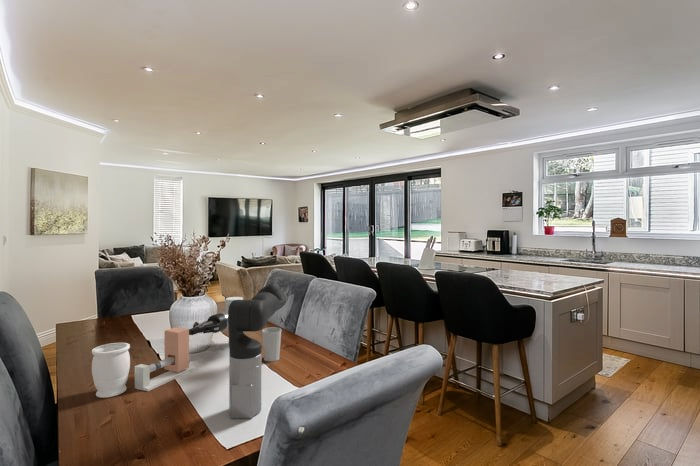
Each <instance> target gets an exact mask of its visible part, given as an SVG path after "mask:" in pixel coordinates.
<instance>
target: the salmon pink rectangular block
mask: <svg viewBox="0 0 700 466" xmlns="http://www.w3.org/2000/svg"><path fill="white" fill-rule="evenodd" d="M189 329H190V328H185V327H177V326H174V327H172V328H171V327H170V328H168V329H166V330H164V359H166V358H169V357H171V356H175V362H174V363H172V364H169V365H167V366H164V370H165V371H166V370H167V371H175V372H180V371H182V370H184V369H187V368H189V365H190V335H189Z"/></svg>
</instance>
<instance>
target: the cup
mask: <svg viewBox="0 0 700 466" xmlns="http://www.w3.org/2000/svg"><path fill="white" fill-rule="evenodd" d="M261 333H262V334H261V336H262V337H261V338H262V346H263V348H262V349H263V360H264V361H265V362H277V361H279V360H280V352H281V341H282V338H281V337H282V328H280V327H275V326H273V327H270V326H269V327H266V328H263V329H261Z"/></svg>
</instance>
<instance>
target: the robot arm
mask: <svg viewBox="0 0 700 466" xmlns="http://www.w3.org/2000/svg"><path fill="white" fill-rule="evenodd" d="M287 300H288V299H287V297H286V294H285V293H284V291H283V290H282V288H281V286H280V285H279V284H278V282H275V281H273V282H270V283H269V284H266V285H265V286H263V287H262V288H261V289H259V291H257V293H256V294H255V295H254V296H252V298H251V299H243V300H234V301H232V302H231V303H230V306H229V309H228V311H226V312H225V311H221V312H218V313H216V314H213V315H210V316H209V317H208V318H207V320H204V321H202V322H200V323H199V322H198V321H194V323H193V325H192V328H188V329H189V336H194V335H196V334H210V333H213V334H217V333H220V332H222V331H225V330H227V329H228V349H229V353H228V354H229V355H228V356H229V358H228V359H229V365H228V366H229V368H228V369H229V370H228V371H229V379H228V380H229V384H228V385H229V386H228V389H229V393H228V395H229V396H228V399H229V400H228V403H229V405H228V406H229V407H228V408H229V411H228V413H229V415H230V419H253V418H254V417H255V416H257V415H258V414H260V413H261V411H262V362H263V361H262V358H263V357H262V354H263V353H262V351H263V350H262V349H263V348H262V346H263V345H262V343H261V342H260V341H259V340H256V339H254V338H251V337H249V336H248V335H246V334H245V332H246V333H247V332H252V333H253V332H254V333H255V332H259V331H262V330H263V329H265V328H264V327H266V324H267V322H268V321H269V319H270V318H271V317H272V316H273V315H274V314H275V313H276V312H277V311H279V310H280V309H283V307H284V306H285V305H286V304H287V302H288V301H287Z"/></svg>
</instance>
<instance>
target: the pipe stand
mask: <svg viewBox="0 0 700 466" xmlns="http://www.w3.org/2000/svg"><path fill="white" fill-rule="evenodd" d="M174 362H175V356H171V357H169V358H166V359H165V358H164V359H161V360H159V361H156V362H154V363H151V364H149V365H147V364H143V363H140V364H137V365H135V366H134V389H137V390H138V391H140V390H141V391H144V392H145V391H146V392H149V391H151V390H152V391H153V390H155V389H156V388H158V387H160V386H161V387H162V385H165V384H167V383H169V382H171V381H174V380H175V379H177V378H179V377H181V376H184V375H186V374H188V373H190V372H192V371H195V370H196V369H197V366H195V365H190V364H189V368H187V369H184V370H182V371H180V372H175V371H170V370H167V371H165V372H163V373H161V374H159V375H157V376H155V377H150V374H151V373H152V372H154V371H158V370H159V369H162V368H165V366H167V365H169V364H172V363H174Z"/></svg>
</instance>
